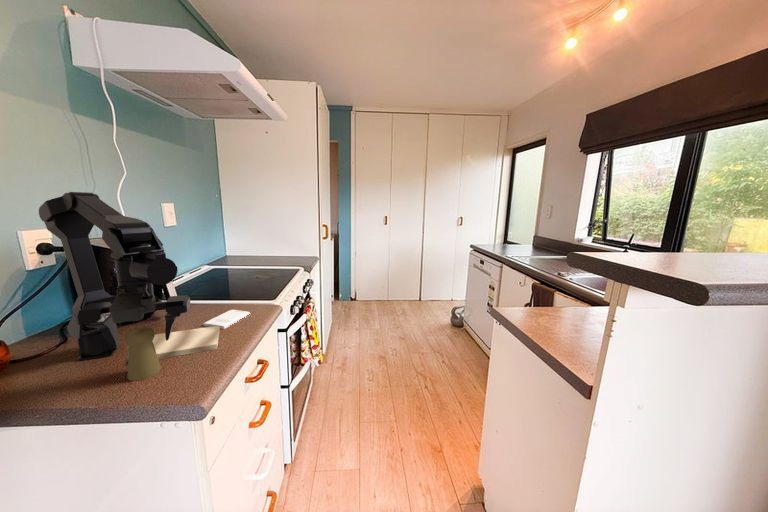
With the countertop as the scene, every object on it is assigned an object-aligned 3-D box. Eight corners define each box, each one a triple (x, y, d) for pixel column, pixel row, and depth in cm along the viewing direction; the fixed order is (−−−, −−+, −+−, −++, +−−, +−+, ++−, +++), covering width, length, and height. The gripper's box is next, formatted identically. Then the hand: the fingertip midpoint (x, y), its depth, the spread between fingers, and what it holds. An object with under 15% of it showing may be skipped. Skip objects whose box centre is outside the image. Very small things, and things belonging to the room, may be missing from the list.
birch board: (132, 363, 69) (131, 358, 68) (147, 340, 80) (146, 335, 80) (216, 349, 77) (216, 344, 76) (219, 330, 88) (219, 325, 88)
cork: (126, 372, 65) (120, 328, 63) (159, 362, 69) (154, 321, 67) (127, 384, 61) (121, 338, 59) (162, 373, 65) (157, 330, 63)
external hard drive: (250, 316, 101) (224, 330, 89) (230, 313, 103) (202, 327, 91) (250, 311, 101) (224, 325, 89) (230, 309, 102) (202, 322, 90)
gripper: (53, 293, 50) (67, 371, 53) (179, 284, 59) (185, 351, 62) (83, 278, 60) (94, 344, 63) (188, 272, 68) (193, 331, 71)
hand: (142, 343), depth 64 cm, fingers open, 9 cm apart
